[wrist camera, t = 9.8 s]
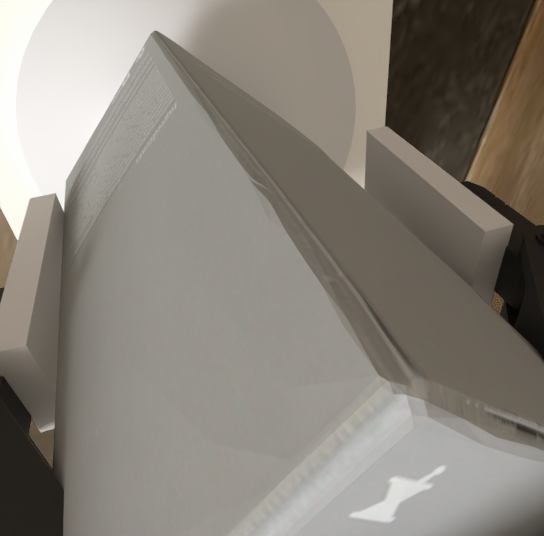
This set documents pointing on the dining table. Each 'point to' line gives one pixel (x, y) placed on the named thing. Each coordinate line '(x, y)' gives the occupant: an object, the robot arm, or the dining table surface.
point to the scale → (203, 45)
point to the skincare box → (271, 340)
